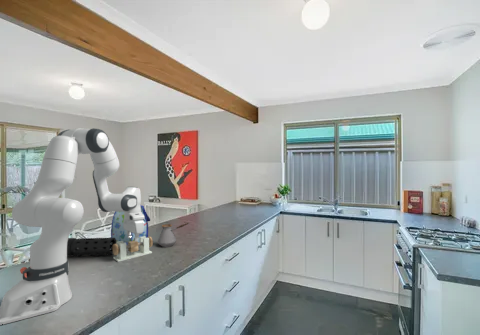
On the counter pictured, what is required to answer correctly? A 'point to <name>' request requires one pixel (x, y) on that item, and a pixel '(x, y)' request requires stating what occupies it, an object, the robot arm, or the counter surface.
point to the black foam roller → (90, 246)
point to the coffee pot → (168, 235)
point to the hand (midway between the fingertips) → (132, 239)
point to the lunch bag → (120, 232)
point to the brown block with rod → (131, 246)
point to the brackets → (143, 251)
